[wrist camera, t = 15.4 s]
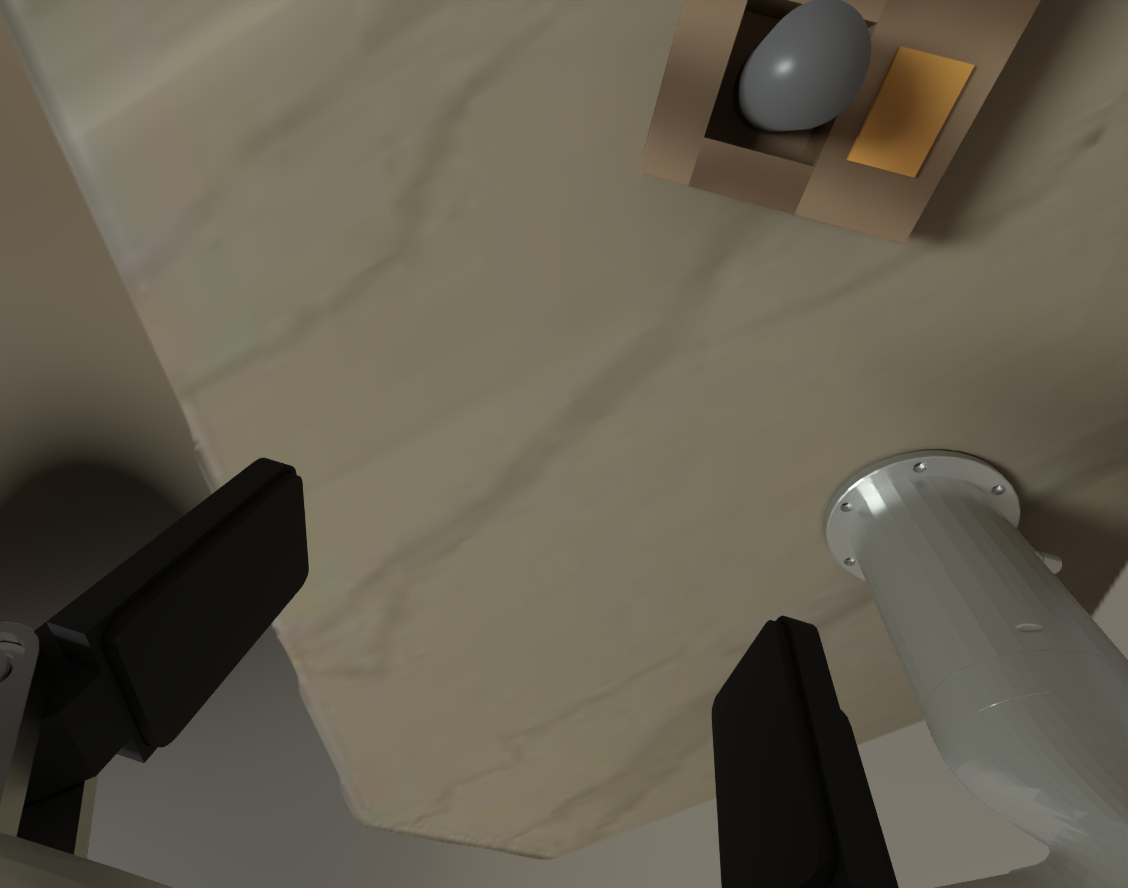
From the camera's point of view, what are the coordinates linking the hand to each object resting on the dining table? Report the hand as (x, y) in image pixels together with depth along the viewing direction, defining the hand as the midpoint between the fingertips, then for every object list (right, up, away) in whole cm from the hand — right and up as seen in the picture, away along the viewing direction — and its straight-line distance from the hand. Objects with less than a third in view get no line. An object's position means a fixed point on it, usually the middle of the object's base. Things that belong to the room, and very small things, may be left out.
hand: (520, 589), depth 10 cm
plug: (+12, +22, +17) cm, 30 cm away
